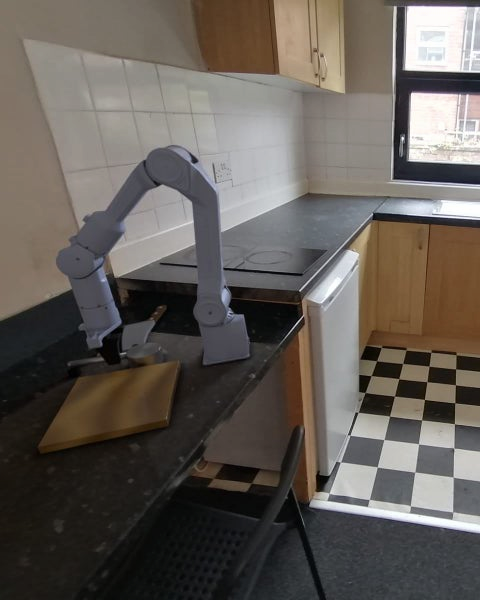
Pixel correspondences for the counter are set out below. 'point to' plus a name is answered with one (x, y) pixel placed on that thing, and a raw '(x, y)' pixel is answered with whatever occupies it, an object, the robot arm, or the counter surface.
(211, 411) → the counter surface
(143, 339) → the kitchen cleaver
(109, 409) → the chopping board
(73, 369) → the grey disc-end rod
